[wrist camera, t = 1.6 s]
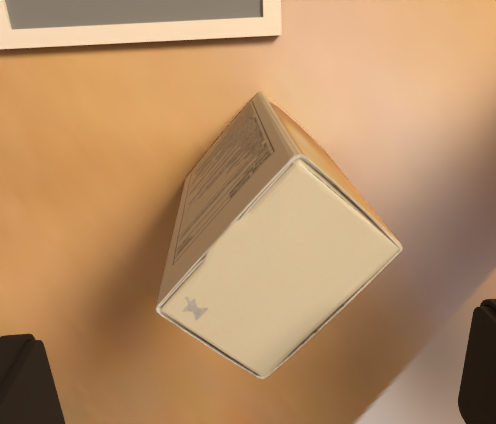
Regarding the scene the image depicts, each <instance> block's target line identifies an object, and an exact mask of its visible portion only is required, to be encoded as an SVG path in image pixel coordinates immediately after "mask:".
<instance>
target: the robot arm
mask: <svg viewBox="0 0 496 424" xmlns="http://www.w3.org/2000/svg"><path fill="white" fill-rule="evenodd" d="M458 406H459V410H460V413H461V416H462V418H463V419H464V421H465V423H466V424H496V299H486V300H484V301H483V302H482V303H481V305H480V307H477V308H475V310H474V312H473V317H472V323H471V328H470V334H469V340H468V345H467V351H466V357H465V363H464V368H463V375H462V380H461V386H460V392H459V397H458ZM0 424H65V421H64V417H63V413H62V410H61V406H60V402H59V399H58V395H57V391H56V388H55V384H54V380H53V377H52V373H51V369H50V366H49V362H48V358H47V355H46V351H45V347H44V344H43V342H42V341H41V340H35V338H34V336H33V335H32V334H20V335H7V336H2V337H0Z"/></svg>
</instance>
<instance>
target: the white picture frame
mask: <svg viewBox="0 0 496 424" xmlns="http://www.w3.org/2000/svg"><path fill="white" fill-rule="evenodd" d="M274 35H281V0H0V49H15V48H35V47H55V46H75V45H95V44H115V43H134V42H154V41H174V40H194V39H214V38H234V37H254V36H274Z"/></svg>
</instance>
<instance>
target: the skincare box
mask: <svg viewBox="0 0 496 424" xmlns="http://www.w3.org/2000/svg"><path fill="white" fill-rule="evenodd" d="M402 249H403V247H402V245H401V243H400V242H399V241H398V239H397V238H396V237H395V236H394V235H393V234H392V232H391V231H390V230H389V229H388V228H387V226H386V225H385V224H384V223H383V222H382V220H381V219H380V218H379V217H378V216H377V214H376V213H375V212H374V211H373V209H372V208H371V207H370V206H369V204H368V203H367V202H366V201H365V199H364V198H363V197H362V195H361V194H360V193H359V192H358V191H357V189H356V188H355V187H354V186H353V185H352V183H351V182H350V181H349V180H348V178H347V177H346V176H345V175H344V174H343V172H342V171H341V170H340V169H339V167H338V166H337V165H336V164H335V162H334V161H333V160H332V159H331V157H330V156H329V155H328V154H327V153H326V151H325V150H324V149H323V148H322V146H321V145H320V144H319V143H318V142H317V141H316V140H315V139H314V138H313V137H312V136H311V135H310V134H309V133H308V132H307V131H306V130H305V129H304V128H303V127H301V126H300V125H299V124H298V123H297V122H296V121H295V120H294V119H293V118H292V117H291V116H290V115H289V114H288V113H287V112H286V111H284V110H283V109H282V108H281V107H280V106H279V105H278V104H276V103H275V102H274V101H273V100H272V99H271V98H270V97H269V96H267V95H266V94H265V93H263V92H259V93H257V94H256V95H255V97H254V98H253V99H252V100H251V101H250V102H249V103H248V104H247V105H246V106H245V107H244V109H243V110H242V111H241V112H240V113H239V114H238V115H237V117H236V118H235V119H234V120H233V121H232V122H231V123H230V125H229V126H228V127H227V128H226V129H225V130H224V132H223V133H222V134H221V135H220V137H219V138H218V139H217V140H216V141H215V142H214V144H213V145H212V146H211V147H210V148H209V150H208V151H207V152H206V153H205V155H204V156H203V157H202V158H201V160H200V161H199V162H198V163H197V165H196V166H195V167H194V169H193V170H192V171H191V172H190V174H189V175H188V176H187V178H186V179H185V183H184V188H183V192H182V196H181V201H180V205H179V209H178V213H177V218H176V222H175V226H174V231H173V235H172V239H171V243H170V247H169V251H168V256H167V260H166V264H165V268H164V273H163V277H162V281H161V285H160V290H159V294H158V299H157V303H156V307H155V310H156V312H157V313H158V314H159V315H161V316H162V317H164V318H165V319H167V320H169V321H170V322H172V323H173V324H175V325H176V326H177V327H179V328H180V329H182V330H183V331H185V332H186V333H188V334H189V335H191V336H192V337H194V338H195V339H197V340H198V341H200V342H201V343H203V344H205V345H206V346H207V347H209V348H210V349H212V350H213V351H215V352H216V353H218V354H219V355H221V356H223V357H224V358H226V359H227V360H229V361H230V362H232V363H234V364H235V365H237V366H238V367H240V368H242V369H244V370H246V371H247V372H249V373H251V374H252V375H254V376H255V377H257V378H259V379H265V378H266V377H268V376H269V375H270V374H271V373H272V372H274V371H275V370H276V369H278V368H279V367H280V366H281V365H282V364H283V363H284V362H286V361H287V360H288V359H289V358H290V357H292V356H293V355H294V354H295V353H296V352H297V351H298V350H299V349H300V348H302V347H303V346H304V345H305V344H306V343H307V342H308V341H309V340H310V339H311V338H313V337H314V336H315V335H316V334H317V333H318V332H319V331H320V330H321V329H322V328H323V327H324V326H325V325H326V324H328V323H329V322H330V321H331V320H332V319H333V318H334V317H335V316H336V315H337V314H338V313H339V312H340V311H341V310H342V309H343V308H344V307H345V306H346V305H347V304H348V303H350V302H351V301H352V300H353V299H354V298H355V297H356V296H357V295H358V294H359V293H360V292H361V291H362V290H363V289H364V288H365V287H366V286H367V285H368V284H369V283H370V282H371V281H372V280H373V279H374V278H375V277H376V276H377V275H378V274H379V273H380V272H381V271H382V270H383V269H384V268H385V267H386V266H387V265H388V264H389V263H390V262H391V261H392V260H393V259H394V258H395V257H396V256H397V255H398V254H399V253H400V252H401V251H402Z"/></svg>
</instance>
